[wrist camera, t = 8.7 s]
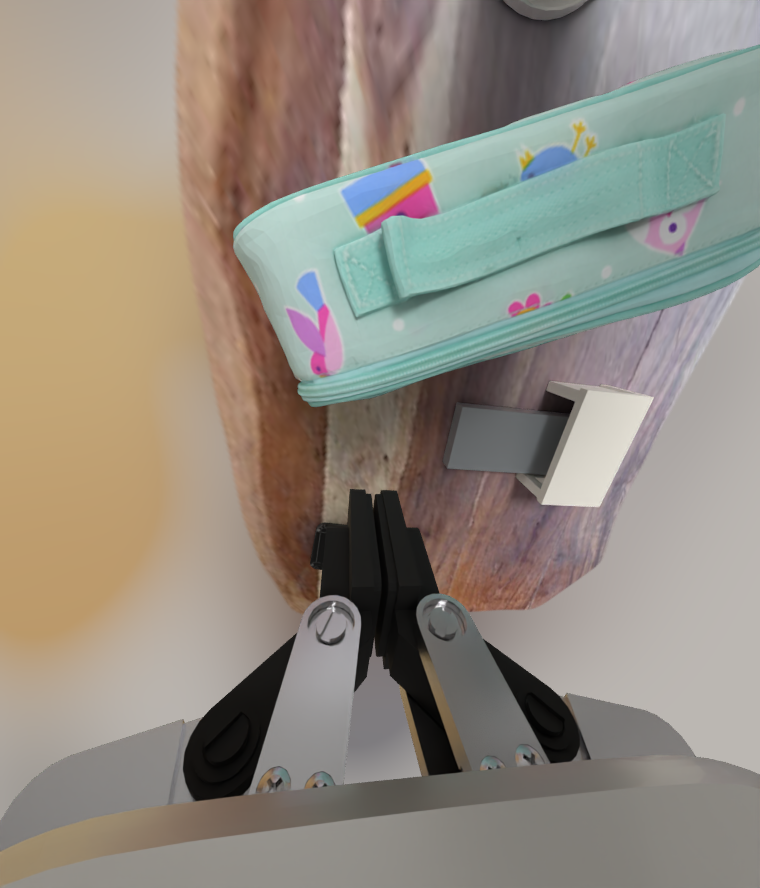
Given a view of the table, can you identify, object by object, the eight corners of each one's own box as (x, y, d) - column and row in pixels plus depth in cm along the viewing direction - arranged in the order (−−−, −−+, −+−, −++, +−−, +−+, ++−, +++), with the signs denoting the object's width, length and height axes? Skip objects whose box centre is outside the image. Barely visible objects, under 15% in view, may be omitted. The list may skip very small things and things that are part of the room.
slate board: (455, 401, 36) (462, 407, 34) (571, 413, 38) (585, 419, 36) (441, 459, 39) (447, 468, 37) (549, 467, 41) (561, 475, 39)
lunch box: (317, 382, 33) (279, 486, 13) (275, 282, 28) (123, 211, 9) (549, 300, 32) (875, 278, 12) (541, 183, 27) (1023, -133, 8)
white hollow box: (550, 378, 35) (587, 389, 30) (607, 384, 37) (654, 397, 31) (514, 479, 41) (541, 504, 35) (566, 481, 42) (599, 506, 37)
